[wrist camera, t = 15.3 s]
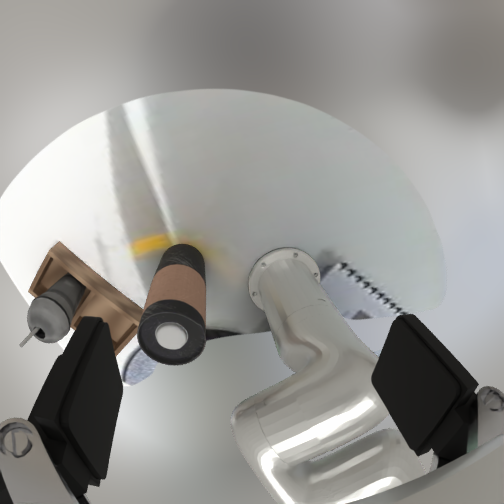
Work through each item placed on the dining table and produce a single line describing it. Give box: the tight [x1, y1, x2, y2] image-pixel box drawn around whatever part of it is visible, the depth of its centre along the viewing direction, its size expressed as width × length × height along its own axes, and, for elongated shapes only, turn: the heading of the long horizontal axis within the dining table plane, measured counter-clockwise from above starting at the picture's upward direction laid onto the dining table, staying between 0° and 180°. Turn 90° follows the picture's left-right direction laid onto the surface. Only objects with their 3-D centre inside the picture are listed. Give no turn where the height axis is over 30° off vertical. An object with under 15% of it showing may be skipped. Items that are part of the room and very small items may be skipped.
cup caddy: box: [28, 241, 143, 356], centre depth 46 cm, size 20×11×4 cm, turn 45°
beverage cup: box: [20, 272, 86, 347], centre depth 37 cm, size 7×7×20 cm
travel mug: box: [137, 244, 206, 365], centre depth 39 cm, size 8×8×20 cm
